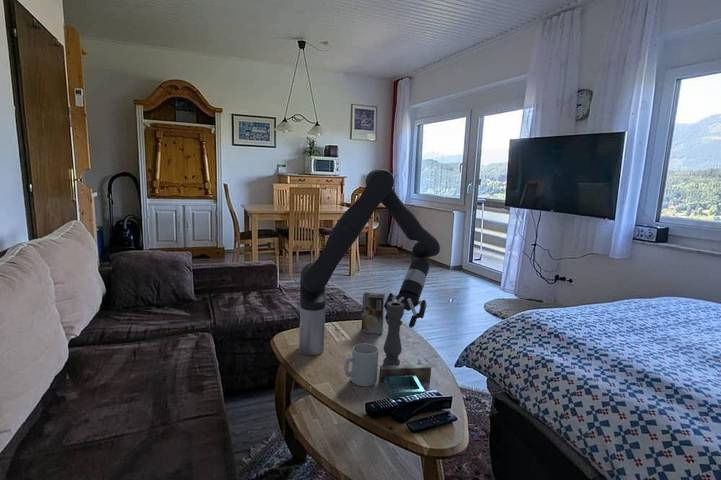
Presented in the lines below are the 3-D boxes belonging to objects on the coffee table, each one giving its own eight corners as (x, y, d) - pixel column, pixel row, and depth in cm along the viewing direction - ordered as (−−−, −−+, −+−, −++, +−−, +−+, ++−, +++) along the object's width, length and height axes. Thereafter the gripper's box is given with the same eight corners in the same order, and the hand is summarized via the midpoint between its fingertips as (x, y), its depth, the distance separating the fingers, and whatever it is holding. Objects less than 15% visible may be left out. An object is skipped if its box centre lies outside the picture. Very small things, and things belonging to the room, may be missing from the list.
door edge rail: (380, 384, 131) (381, 368, 130) (378, 380, 133) (379, 365, 132) (430, 382, 134) (431, 367, 133) (428, 379, 136) (429, 364, 135)
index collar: (390, 403, 120) (391, 392, 120) (383, 385, 130) (383, 375, 130) (424, 401, 122) (425, 391, 121) (414, 384, 132) (414, 374, 132)
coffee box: (383, 329, 177) (385, 293, 174) (381, 334, 171) (384, 298, 168) (362, 326, 179) (364, 291, 176) (360, 332, 172) (362, 296, 170)
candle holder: (399, 370, 140) (405, 302, 136) (399, 379, 134) (405, 308, 130) (382, 369, 141) (386, 300, 137) (381, 377, 135) (385, 306, 131)
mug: (366, 371, 139) (368, 341, 137) (381, 382, 132) (384, 350, 130) (337, 379, 132) (338, 348, 130) (351, 392, 125) (353, 359, 123)
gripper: (392, 275, 147) (377, 314, 139) (430, 282, 140) (416, 323, 132) (397, 286, 153) (382, 324, 144) (433, 293, 146) (420, 333, 138)
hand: (398, 324), depth 138 cm, fingers open, 8 cm apart
